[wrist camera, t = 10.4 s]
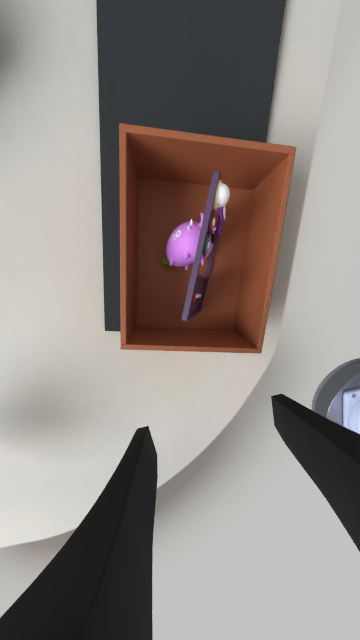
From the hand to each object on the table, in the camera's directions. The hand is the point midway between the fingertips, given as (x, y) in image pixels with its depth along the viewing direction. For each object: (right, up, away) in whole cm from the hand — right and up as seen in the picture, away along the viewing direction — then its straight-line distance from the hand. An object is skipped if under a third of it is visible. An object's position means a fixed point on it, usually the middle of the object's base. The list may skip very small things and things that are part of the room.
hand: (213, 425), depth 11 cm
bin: (-1, +12, +8) cm, 14 cm away
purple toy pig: (-1, +12, +7) cm, 14 cm away
